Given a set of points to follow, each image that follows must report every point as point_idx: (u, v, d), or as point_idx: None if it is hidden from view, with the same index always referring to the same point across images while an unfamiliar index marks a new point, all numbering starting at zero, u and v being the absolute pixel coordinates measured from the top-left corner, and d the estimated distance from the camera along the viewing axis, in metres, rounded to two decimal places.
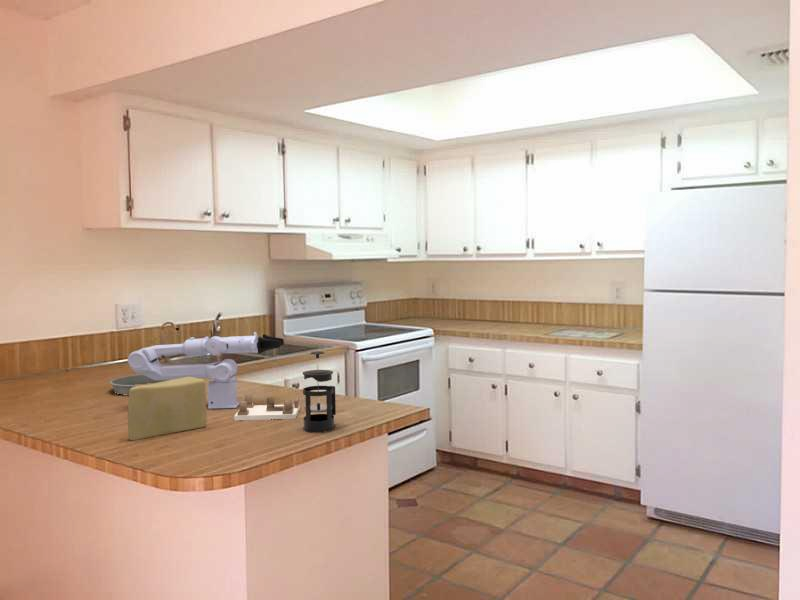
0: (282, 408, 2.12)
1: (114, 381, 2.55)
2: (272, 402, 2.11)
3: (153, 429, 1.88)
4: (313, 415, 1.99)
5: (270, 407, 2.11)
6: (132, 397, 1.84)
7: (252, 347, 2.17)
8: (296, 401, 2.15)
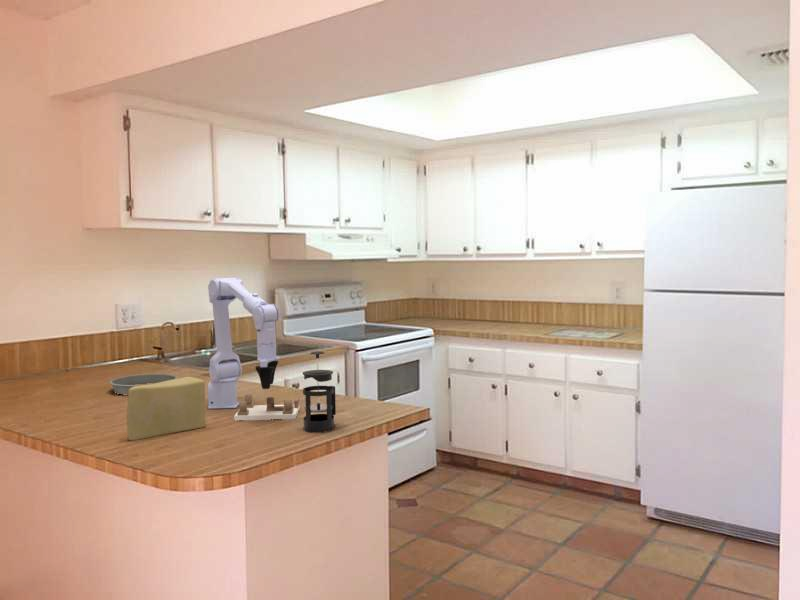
0: (282, 408, 2.12)
1: (114, 381, 2.55)
2: (272, 402, 2.11)
3: (152, 429, 1.88)
4: (313, 415, 1.99)
5: (270, 407, 2.11)
6: (131, 397, 1.84)
7: (262, 363, 1.99)
8: (296, 401, 2.15)
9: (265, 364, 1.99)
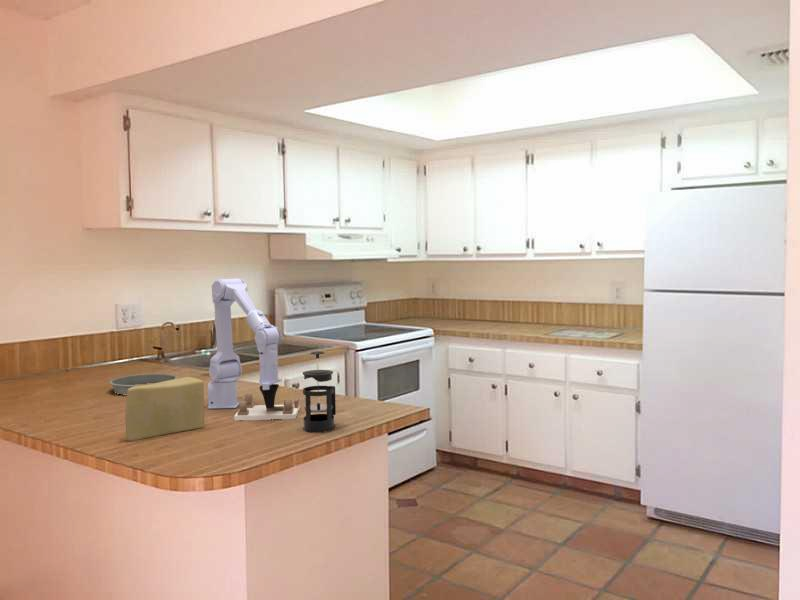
0: (282, 408, 2.12)
1: (114, 381, 2.55)
2: None
3: (150, 430, 1.88)
4: (313, 415, 1.99)
5: None
6: (129, 397, 1.84)
7: (264, 385, 2.02)
8: (296, 401, 2.15)
9: (267, 387, 2.02)
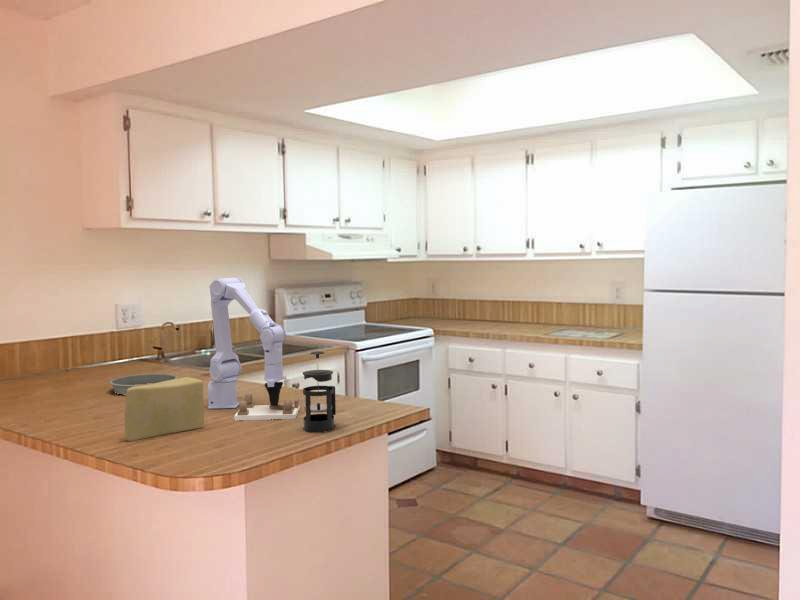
0: (282, 407, 2.13)
1: (114, 381, 2.55)
2: None
3: (150, 430, 1.88)
4: (313, 415, 1.99)
5: (272, 405, 2.14)
6: (129, 398, 1.84)
7: (269, 383, 2.06)
8: (296, 401, 2.15)
9: (272, 384, 2.06)
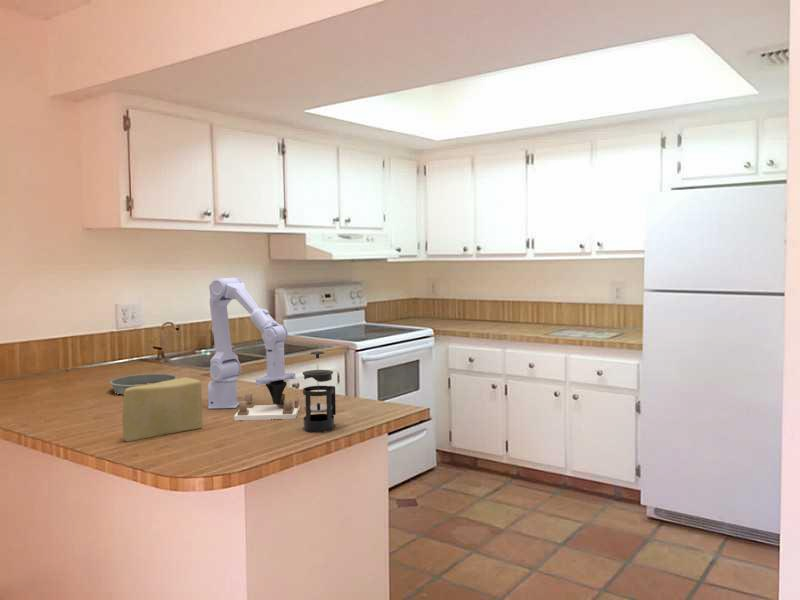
0: (283, 406, 2.14)
1: (114, 381, 2.55)
2: None
3: (148, 430, 1.87)
4: (313, 415, 1.99)
5: None
6: (126, 398, 1.83)
7: (256, 381, 2.09)
8: (296, 401, 2.15)
9: (258, 382, 2.09)
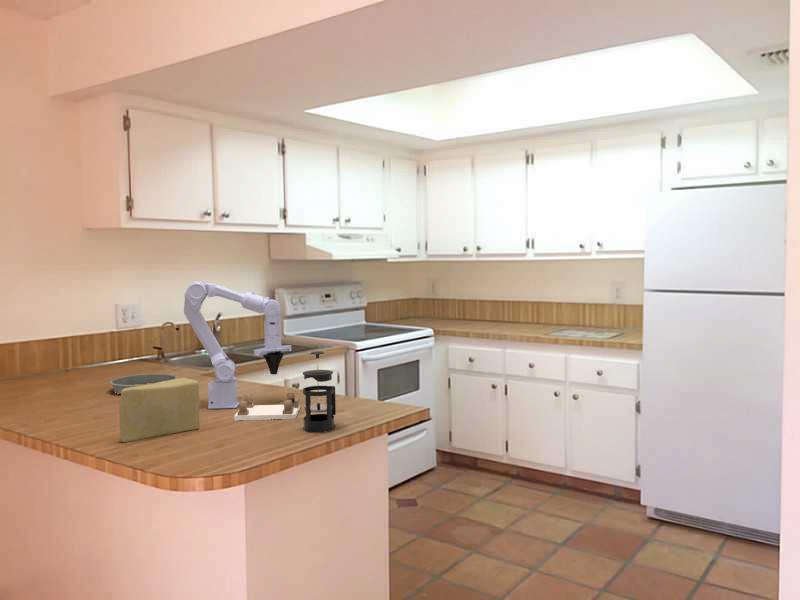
0: None
1: (114, 381, 2.55)
2: (288, 398, 2.18)
3: (145, 431, 1.87)
4: (313, 415, 1.99)
5: None
6: (123, 398, 1.82)
7: (254, 351, 2.22)
8: (296, 401, 2.15)
9: (256, 353, 2.22)
